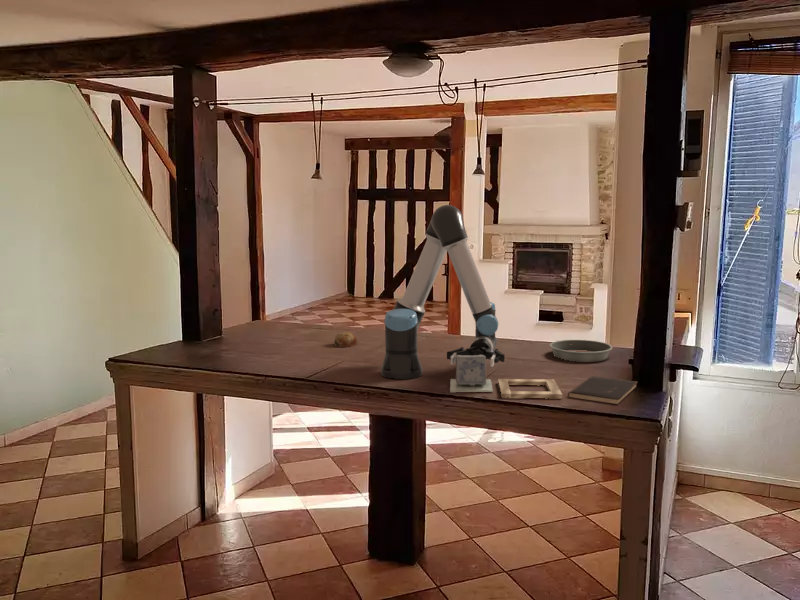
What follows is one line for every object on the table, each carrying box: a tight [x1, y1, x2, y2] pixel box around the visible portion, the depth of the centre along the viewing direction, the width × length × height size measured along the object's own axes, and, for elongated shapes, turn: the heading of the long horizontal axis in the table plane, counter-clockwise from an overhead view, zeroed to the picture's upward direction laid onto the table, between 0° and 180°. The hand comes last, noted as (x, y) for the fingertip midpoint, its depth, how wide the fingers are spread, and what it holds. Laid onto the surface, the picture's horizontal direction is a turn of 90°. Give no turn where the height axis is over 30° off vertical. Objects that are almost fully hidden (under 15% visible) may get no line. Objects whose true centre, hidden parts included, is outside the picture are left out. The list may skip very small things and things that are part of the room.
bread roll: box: [333, 331, 358, 348], centre depth 295 cm, size 10×10×8 cm
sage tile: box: [449, 378, 494, 393], centre depth 225 cm, size 14×14×1 cm
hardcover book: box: [567, 375, 639, 405], centre depth 217 cm, size 16×23×2 cm
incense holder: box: [455, 355, 487, 387], centre depth 224 cm, size 10×8×10 cm
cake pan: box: [549, 339, 613, 363], centre depth 268 cm, size 25×25×4 cm
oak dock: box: [497, 378, 563, 400], centre depth 219 cm, size 19×18×2 cm
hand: (471, 361), depth 223 cm, fingers open, 13 cm apart
